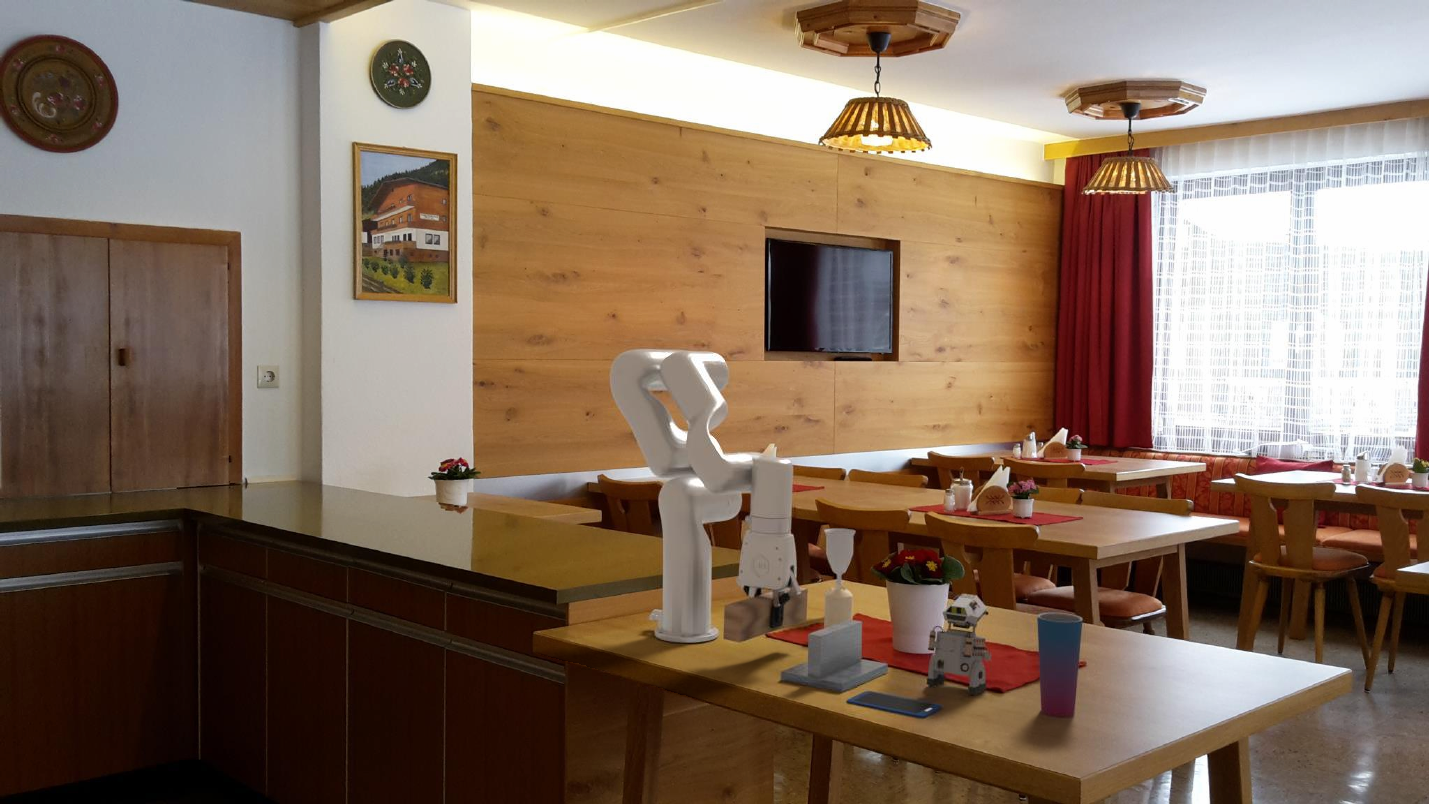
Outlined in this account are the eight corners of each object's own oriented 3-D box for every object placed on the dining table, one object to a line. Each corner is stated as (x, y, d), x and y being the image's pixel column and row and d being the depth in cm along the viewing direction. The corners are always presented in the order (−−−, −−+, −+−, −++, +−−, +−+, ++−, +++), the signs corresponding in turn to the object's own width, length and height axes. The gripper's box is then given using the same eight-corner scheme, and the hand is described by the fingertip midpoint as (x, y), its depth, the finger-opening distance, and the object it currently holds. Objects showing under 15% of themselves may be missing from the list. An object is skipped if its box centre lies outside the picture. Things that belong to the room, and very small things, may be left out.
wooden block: (739, 642, 204) (740, 608, 203) (723, 638, 206) (724, 605, 205) (806, 619, 221) (807, 588, 221) (790, 616, 223) (792, 585, 223)
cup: (1028, 705, 186) (1030, 612, 186) (1070, 705, 187) (1072, 612, 186) (1044, 719, 180) (1046, 622, 179) (1087, 718, 180) (1089, 621, 180)
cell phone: (923, 721, 179) (923, 716, 179) (844, 704, 187) (844, 700, 187) (944, 709, 185) (944, 705, 185) (866, 694, 193) (866, 690, 193)
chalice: (856, 617, 249) (857, 533, 248) (824, 617, 249) (825, 533, 248) (852, 610, 256) (853, 528, 256) (821, 609, 256) (822, 528, 256)
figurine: (1002, 684, 199) (1004, 597, 198) (969, 699, 190) (971, 607, 189) (954, 674, 204) (955, 589, 204) (920, 688, 196) (922, 599, 195)
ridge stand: (780, 680, 200) (781, 630, 199) (828, 661, 213) (829, 615, 212) (841, 692, 193) (842, 641, 192) (887, 672, 205) (888, 624, 205)
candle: (850, 641, 228) (851, 590, 227) (822, 640, 229) (823, 589, 228) (853, 635, 233) (854, 585, 233) (825, 633, 234) (826, 584, 234)
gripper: (721, 522, 214) (717, 620, 215) (797, 534, 204) (793, 637, 206) (744, 517, 220) (741, 613, 221) (820, 528, 210) (815, 629, 212)
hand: (766, 623), depth 213 cm, fingers closed on wooden block, 3 cm apart
